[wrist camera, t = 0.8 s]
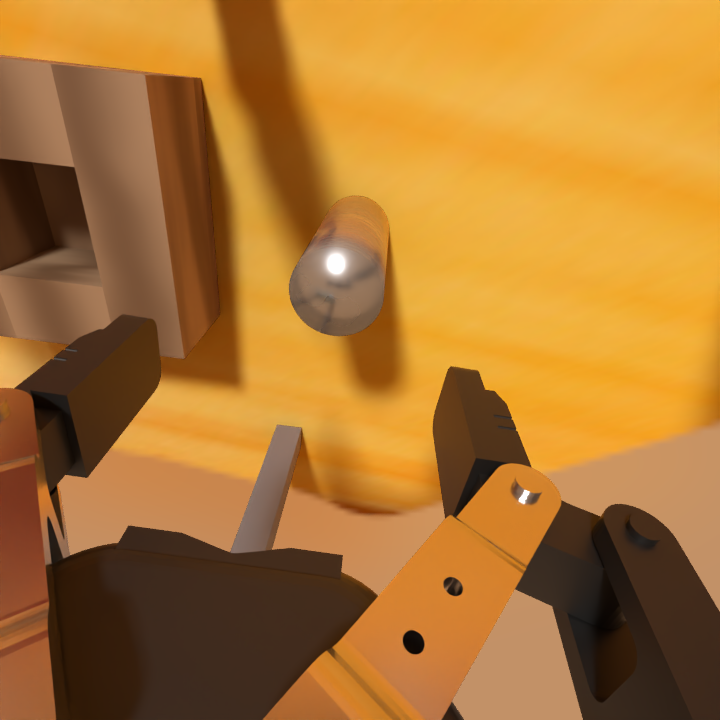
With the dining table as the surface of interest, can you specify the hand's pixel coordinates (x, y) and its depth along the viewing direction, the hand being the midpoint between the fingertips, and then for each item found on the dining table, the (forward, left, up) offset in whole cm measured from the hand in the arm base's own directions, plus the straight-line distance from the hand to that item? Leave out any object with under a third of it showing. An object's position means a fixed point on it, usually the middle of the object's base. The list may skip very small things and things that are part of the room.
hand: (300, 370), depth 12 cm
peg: (0, +1, -17) cm, 17 cm away
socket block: (+16, +1, -17) cm, 23 cm away
